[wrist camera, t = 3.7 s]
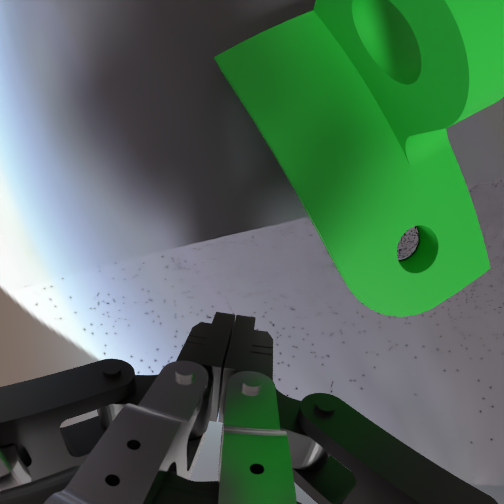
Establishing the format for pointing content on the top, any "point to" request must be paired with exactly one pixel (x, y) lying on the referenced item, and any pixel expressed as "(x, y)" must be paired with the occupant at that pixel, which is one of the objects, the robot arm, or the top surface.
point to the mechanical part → (379, 134)
